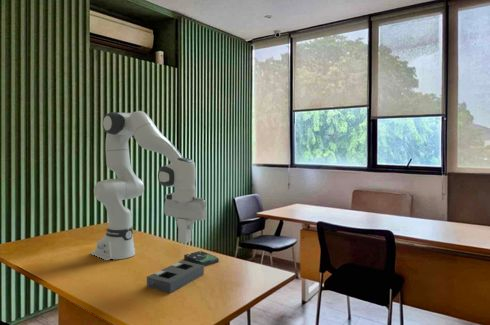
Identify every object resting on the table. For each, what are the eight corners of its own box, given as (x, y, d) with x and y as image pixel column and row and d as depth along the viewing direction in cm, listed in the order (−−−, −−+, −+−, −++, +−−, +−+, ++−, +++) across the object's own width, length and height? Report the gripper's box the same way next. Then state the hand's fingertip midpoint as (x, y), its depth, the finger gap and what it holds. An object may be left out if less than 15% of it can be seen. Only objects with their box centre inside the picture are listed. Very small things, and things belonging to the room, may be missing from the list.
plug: (178, 241, 146) (178, 218, 146) (184, 239, 150) (185, 216, 150) (185, 243, 144) (185, 219, 144) (192, 240, 148) (192, 217, 148)
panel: (146, 286, 136) (146, 276, 136) (181, 269, 155) (181, 260, 155) (170, 293, 130) (170, 282, 130) (203, 274, 150) (203, 264, 150)
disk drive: (183, 260, 169) (202, 268, 159) (183, 254, 169) (202, 262, 158) (200, 255, 176) (219, 262, 166) (200, 250, 176) (219, 257, 166)
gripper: (209, 197, 144) (209, 230, 145) (171, 193, 153) (171, 223, 154) (200, 199, 138) (200, 233, 139) (161, 195, 148) (161, 226, 149)
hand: (184, 228), depth 147 cm, fingers closed on plug, 4 cm apart
